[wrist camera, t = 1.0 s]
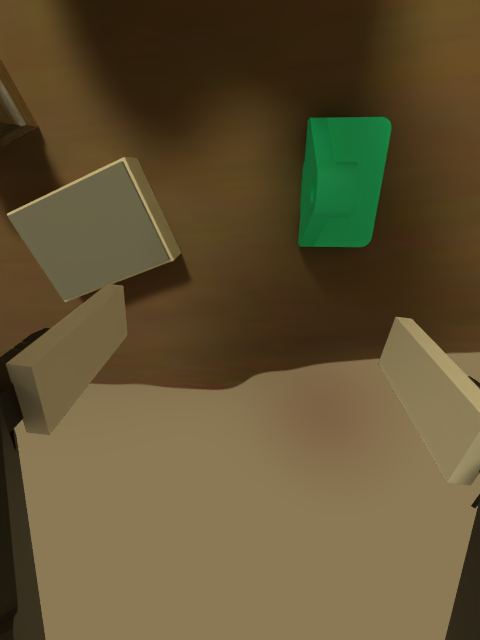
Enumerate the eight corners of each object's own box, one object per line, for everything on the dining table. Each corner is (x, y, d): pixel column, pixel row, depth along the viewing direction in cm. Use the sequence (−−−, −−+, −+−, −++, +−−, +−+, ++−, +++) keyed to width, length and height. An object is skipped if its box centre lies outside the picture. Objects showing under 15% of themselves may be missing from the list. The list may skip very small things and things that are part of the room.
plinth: (28, 210, 36) (3, 214, 33) (137, 158, 33) (122, 156, 30) (80, 292, 41) (63, 303, 37) (181, 252, 38) (172, 261, 34)
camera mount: (362, 242, 36) (398, 266, 27) (297, 241, 36) (309, 265, 27) (383, 120, 31) (436, 99, 21) (306, 121, 31) (325, 100, 22)
